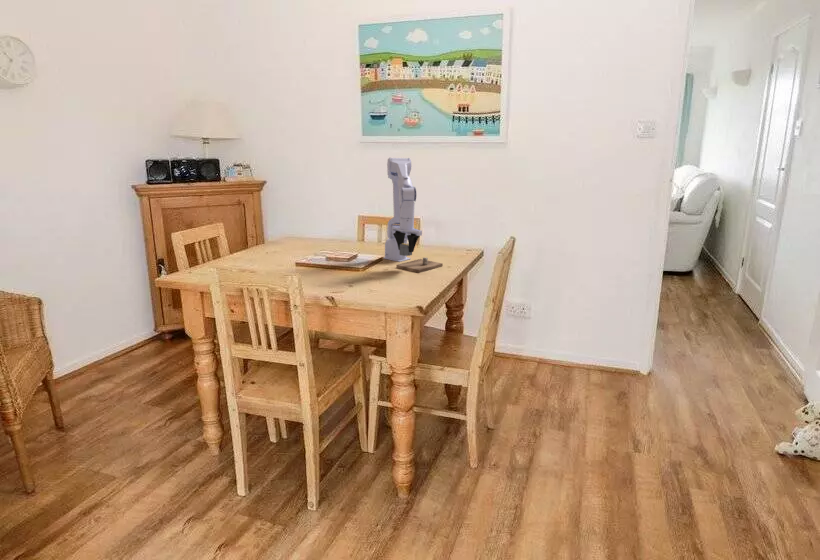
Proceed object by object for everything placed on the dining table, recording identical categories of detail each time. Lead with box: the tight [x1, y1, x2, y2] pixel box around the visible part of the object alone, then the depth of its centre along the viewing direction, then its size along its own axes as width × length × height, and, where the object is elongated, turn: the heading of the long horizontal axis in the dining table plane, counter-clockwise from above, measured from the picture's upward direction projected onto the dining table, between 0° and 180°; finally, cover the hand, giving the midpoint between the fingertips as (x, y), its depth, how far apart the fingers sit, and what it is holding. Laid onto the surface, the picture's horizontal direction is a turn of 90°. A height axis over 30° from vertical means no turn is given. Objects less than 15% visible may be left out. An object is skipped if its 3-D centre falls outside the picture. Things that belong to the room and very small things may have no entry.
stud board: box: [396, 257, 444, 274], centre depth 235 cm, size 12×16×4 cm
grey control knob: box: [399, 243, 413, 257], centre depth 229 cm, size 5×5×4 cm
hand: (406, 250), depth 229 cm, fingers closed on grey control knob, 5 cm apart
